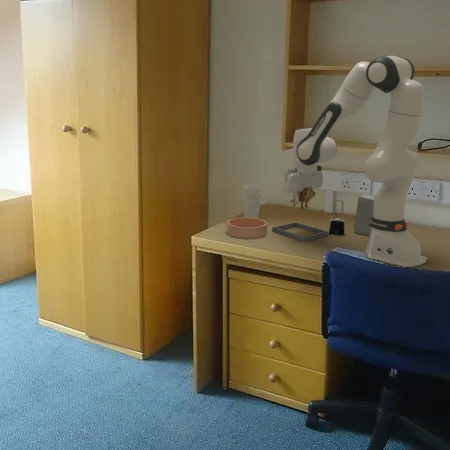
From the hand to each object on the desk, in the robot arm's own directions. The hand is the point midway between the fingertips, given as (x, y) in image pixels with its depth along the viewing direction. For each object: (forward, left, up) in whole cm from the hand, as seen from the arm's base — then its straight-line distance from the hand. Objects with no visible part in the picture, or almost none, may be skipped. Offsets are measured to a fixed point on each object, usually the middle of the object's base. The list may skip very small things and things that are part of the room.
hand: (302, 201), depth 239 cm
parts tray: (+1, 0, -14) cm, 14 cm away
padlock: (-8, -13, -14) cm, 21 cm away
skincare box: (-15, -24, -14) cm, 32 cm away
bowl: (+15, +17, -14) cm, 27 cm away
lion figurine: (+1, -1, -3) cm, 3 cm away
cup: (+29, +2, -14) cm, 32 cm away
